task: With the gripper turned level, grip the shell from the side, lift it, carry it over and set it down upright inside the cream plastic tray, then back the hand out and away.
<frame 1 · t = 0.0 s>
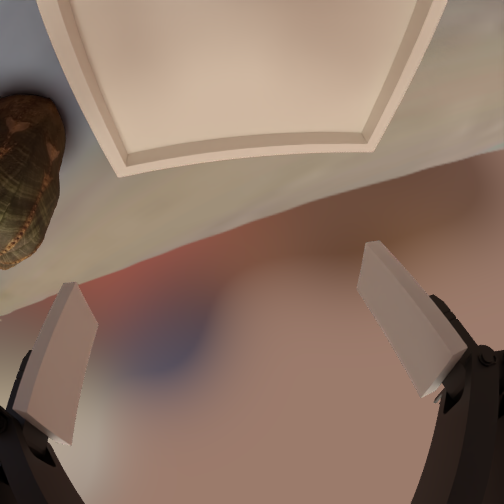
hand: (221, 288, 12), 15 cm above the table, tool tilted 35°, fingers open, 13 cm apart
tray: (253, 18, 13), on the table
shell: (21, 129, 16), on the table
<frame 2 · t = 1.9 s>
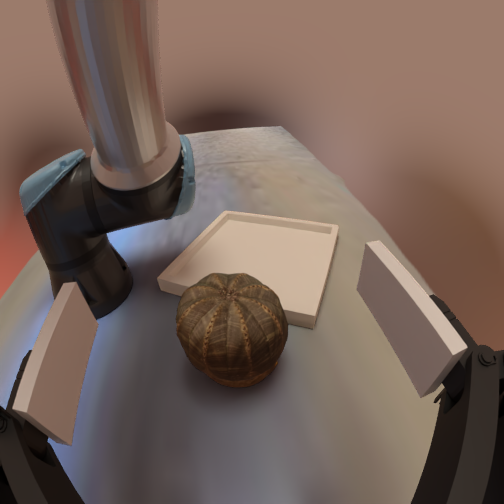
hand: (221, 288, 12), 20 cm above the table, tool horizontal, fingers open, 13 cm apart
tray: (258, 261, 48), on the table
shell: (238, 365, 31), on the table
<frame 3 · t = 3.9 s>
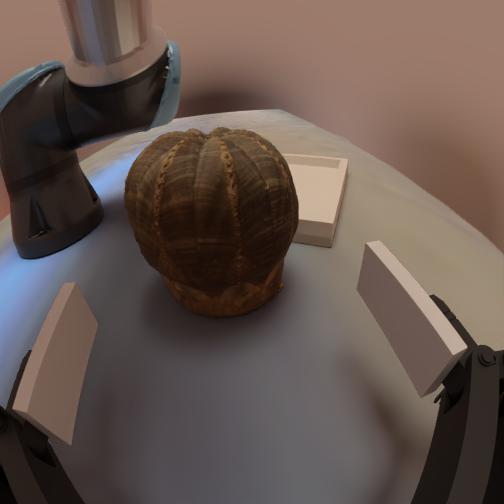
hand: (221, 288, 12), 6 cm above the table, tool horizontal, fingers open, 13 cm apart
tray: (255, 190, 39), on the table
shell: (224, 290, 22), on the table
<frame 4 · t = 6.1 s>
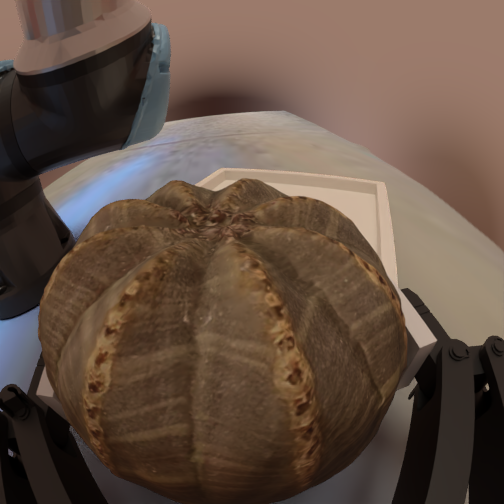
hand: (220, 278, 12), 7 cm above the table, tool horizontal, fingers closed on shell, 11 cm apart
tray: (273, 227, 30), on the table
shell: (244, 422, 13), on the table, touching gripper
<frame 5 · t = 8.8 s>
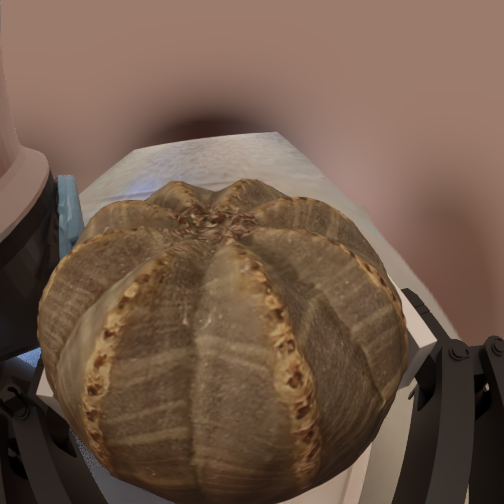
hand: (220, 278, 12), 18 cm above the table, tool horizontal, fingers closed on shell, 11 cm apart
tray: (249, 400, 25), on the table
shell: (244, 423, 13), point 11 cm above the table, touching gripper
when the fingers open (9 cm above the table, at t = 11.6 s): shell drops 1 cm, resting on tray.
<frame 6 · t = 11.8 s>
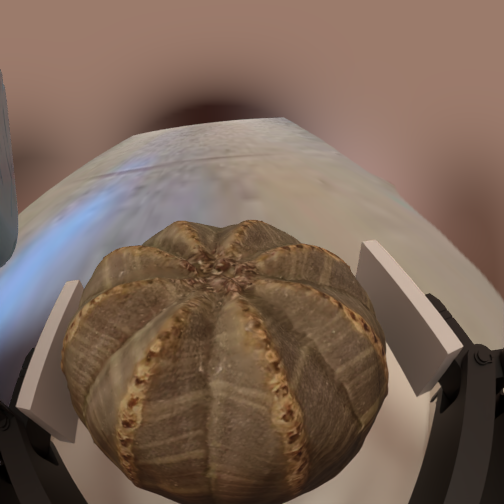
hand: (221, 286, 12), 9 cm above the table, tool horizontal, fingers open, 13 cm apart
tray: (248, 434, 14), on the table
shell: (244, 432, 13), point 1 cm above the table, touching tray
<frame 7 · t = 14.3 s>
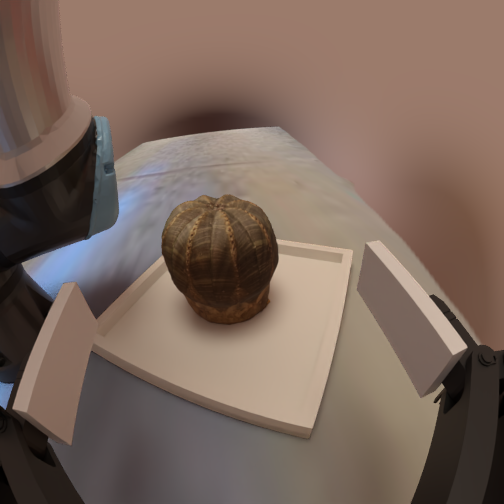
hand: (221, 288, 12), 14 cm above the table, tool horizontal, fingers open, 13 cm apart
tray: (231, 309, 31), on the table
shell: (228, 305, 30), point 1 cm above the table, touching tray
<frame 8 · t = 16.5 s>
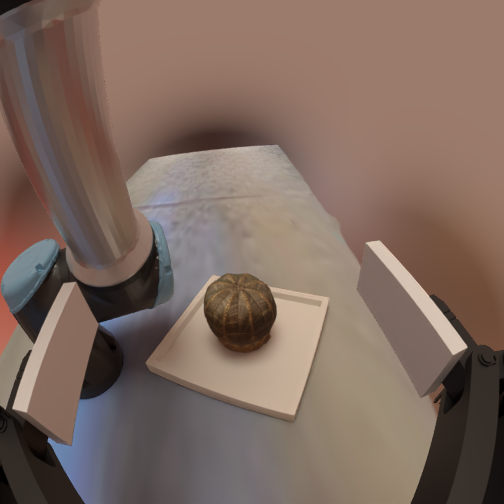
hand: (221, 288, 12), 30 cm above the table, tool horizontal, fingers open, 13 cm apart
tray: (245, 340, 46), on the table
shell: (243, 338, 46), point 1 cm above the table, touching tray
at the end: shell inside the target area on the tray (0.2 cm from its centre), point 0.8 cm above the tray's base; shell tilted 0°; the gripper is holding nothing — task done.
